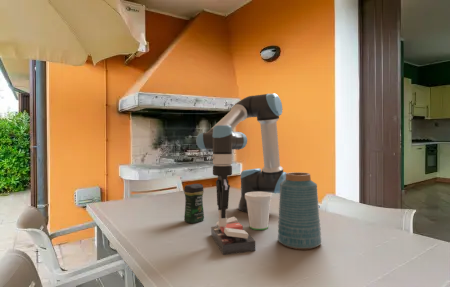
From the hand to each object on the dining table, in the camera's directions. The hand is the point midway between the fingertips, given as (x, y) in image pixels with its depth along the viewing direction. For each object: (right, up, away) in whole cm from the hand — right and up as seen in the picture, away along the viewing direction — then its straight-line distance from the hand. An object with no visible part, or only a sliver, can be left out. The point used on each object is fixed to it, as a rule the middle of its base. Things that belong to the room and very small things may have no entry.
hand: (222, 225), depth 106 cm
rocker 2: (+3, -1, +1) cm, 4 cm away
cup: (+17, -7, +19) cm, 26 cm away
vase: (+30, -7, 0) cm, 31 cm away
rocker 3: (+5, -1, -5) cm, 7 cm away
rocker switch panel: (+3, -7, +5) cm, 9 cm away
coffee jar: (-14, -7, +31) cm, 35 cm away
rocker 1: (+2, -1, +7) cm, 8 cm away
